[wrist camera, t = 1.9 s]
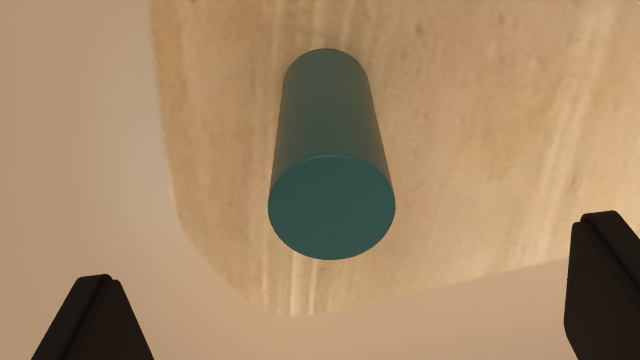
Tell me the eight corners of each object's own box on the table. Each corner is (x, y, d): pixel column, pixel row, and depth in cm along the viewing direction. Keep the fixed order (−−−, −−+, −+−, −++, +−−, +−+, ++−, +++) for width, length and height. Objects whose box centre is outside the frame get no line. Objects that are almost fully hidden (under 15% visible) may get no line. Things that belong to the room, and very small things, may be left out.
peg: (291, 134, 22) (280, 268, 15) (275, 55, 20) (255, 164, 13) (373, 122, 21) (400, 252, 15) (363, 41, 20) (389, 145, 13)
